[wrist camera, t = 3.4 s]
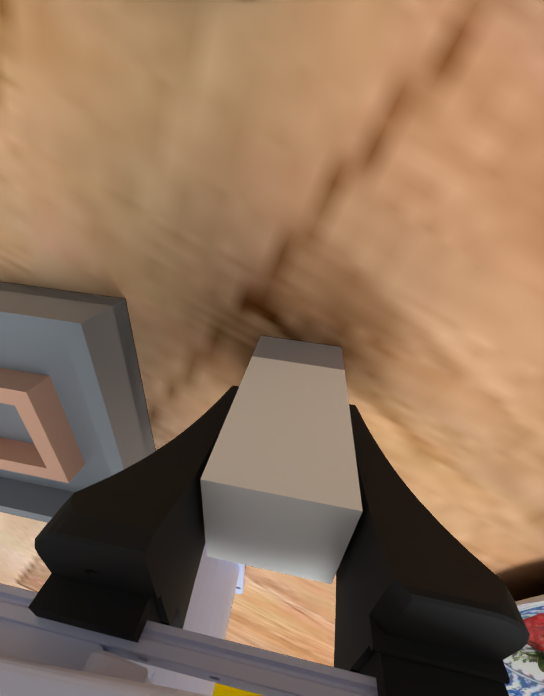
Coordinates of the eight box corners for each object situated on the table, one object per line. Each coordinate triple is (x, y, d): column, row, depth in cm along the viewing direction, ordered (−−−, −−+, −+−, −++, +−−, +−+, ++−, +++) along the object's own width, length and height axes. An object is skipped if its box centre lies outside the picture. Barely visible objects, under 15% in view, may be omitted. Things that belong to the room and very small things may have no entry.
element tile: (227, 683, 51) (219, 726, 47) (181, 651, 46) (167, 697, 42) (302, 691, 46) (300, 740, 42) (260, 656, 41) (253, 709, 36)
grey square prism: (326, 409, 15) (331, 584, 9) (256, 397, 16) (206, 556, 9) (341, 347, 13) (362, 511, 7) (260, 335, 14) (200, 479, 7)
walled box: (166, 504, 23) (146, 544, 20) (-26, 464, 25) (-67, 496, 22) (125, 298, 14) (80, 323, 11) (-174, 257, 16) (-271, 271, 13)
